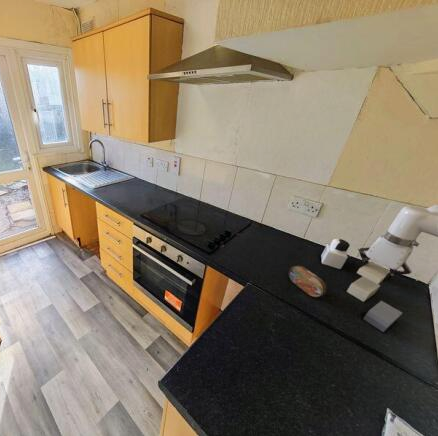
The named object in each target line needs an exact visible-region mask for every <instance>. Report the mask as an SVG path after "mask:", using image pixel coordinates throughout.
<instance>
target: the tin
mask: <svg viewBox="0 0 438 436" xmlns="http://www.w3.org/2000/svg"><path fill="white" fill-rule="evenodd" d="M288 277H289V279H290V281H291V282H292V283H293V284H294V285H296V286H297V287H298V288H299V289H301V290H302V291H303V292H304V293H306V294H307V295H309V296H310V297H313V298H319V297H321V296H323V295H325V294H326V292H327V285H326V283H325V281H324V280H323V279H322V278H321V277H319V276H318V275H316V274H315V273H314V272H312V271H310V270H309V269H307V268H306V267H305V266H302V265H294V266H291V267H290V268H289V270H288Z"/></svg>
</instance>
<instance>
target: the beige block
mask: <svg viewBox="0 0 438 436" xmlns="http://www.w3.org/2000/svg"><path fill="white" fill-rule="evenodd" d="M380 287H381V284H380V283H379V284H376V283H374V282H373V281H371V280H369V279H367V278H365V277H363V276H361V277H360V278H358V279H356V280H355V281H354V282H351V284H350V285H349V287H348V288H347V290H346V293H348V294H350V295H351V296H353V297H355V298H356V299H358V300H360V301H361V302H363V303H364V302H365V301H368V299H370V298H371V297H372V296H374V295H375V294H376V293H377V291H378V290H379V289H380Z"/></svg>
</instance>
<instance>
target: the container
mask: <svg viewBox="0 0 438 436" xmlns="http://www.w3.org/2000/svg"><path fill="white" fill-rule="evenodd" d="M350 246H351V244H350V243H349V242H348V241H347V240H344V239H341V238H334V239H332V241H331V243H330V244H328V243H327V244H326V245H325V247H324V250H323V251H322V253H321V255H320V257H321V264H322V265H325V266H329V267H332V268H335V269H339V270H341V269H342V268H343V266H344V265H345V263H346V261H347V259H348V254H347V251H348V250H349V248H350Z"/></svg>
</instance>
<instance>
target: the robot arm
mask: <svg viewBox="0 0 438 436" xmlns="http://www.w3.org/2000/svg"><path fill="white" fill-rule="evenodd" d="M421 233H425V234H428V235H430V236H432V237H433V236H434V237H436V238H438V204H434V205H431V206H429V207H427V208H423V207H419V206H415V205H406V206H404V207H402V208H401V209H400V211H399V212H398V213H397V215H396V217H395V218H394V220H393V221H392V223H391V224H390V226H389V227H388V229H387V230H386V232H385V233H384V234H382V235H381V236H379V237H378V238H377V239H375V241H374V243H372V245H371V246H364V247H359V248H357V250H358V253H359V256H360V258H361V262H360V264H359V265H358V266H359V268H358V270H359V269H360V268H361V267H363V266H365V265H366V264H368V263H370V260H372V261H374V262H376V263H377V264H380V265H381V266H384V267H387V268H388V270H390V273H388V274H387V275H386V276H385V278H384V279H383V281H382V282H383V283H386V282H387V281H388V282H390V281H391V280H392V278H393V277H394V276H403V275H410V274H412V273H413V271H412V269H411V268H410V266H409V265H408V264H407V261H408V259H409V257H410V256H411V254H412V252H413V250H414V247H416V248H418V247H419V246H420V243H419V242H417V239H418V238H419V236H420V235H421ZM400 268H402V269H403V270H399V269H400Z"/></svg>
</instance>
